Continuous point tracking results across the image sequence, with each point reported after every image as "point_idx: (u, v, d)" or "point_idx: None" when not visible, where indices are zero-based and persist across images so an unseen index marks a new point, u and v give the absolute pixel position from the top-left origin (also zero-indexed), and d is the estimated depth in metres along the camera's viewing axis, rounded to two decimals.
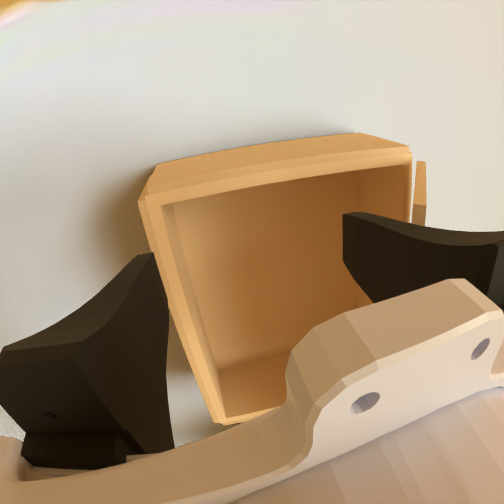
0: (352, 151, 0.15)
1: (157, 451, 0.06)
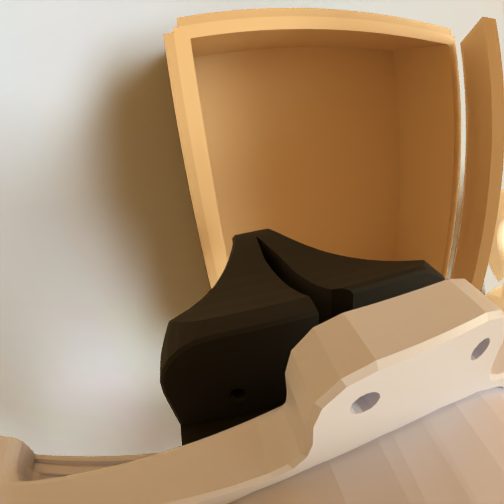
0: (398, 17, 0.11)
1: None
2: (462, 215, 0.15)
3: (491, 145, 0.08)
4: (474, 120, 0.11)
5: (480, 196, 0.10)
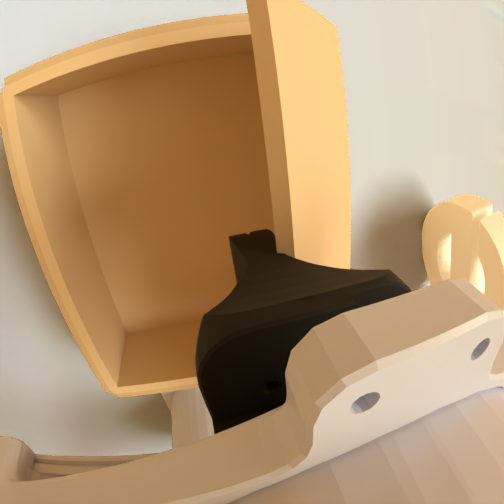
0: (227, 15, 0.10)
1: None
2: None
3: (269, 163, 0.08)
4: None
5: None
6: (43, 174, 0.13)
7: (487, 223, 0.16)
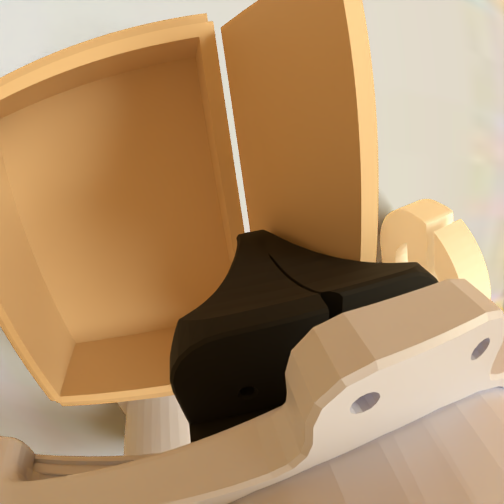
0: (114, 33, 0.09)
1: None
2: None
3: (359, 170, 0.06)
4: (270, 131, 0.09)
5: (325, 247, 0.08)
6: None
7: (443, 234, 0.15)
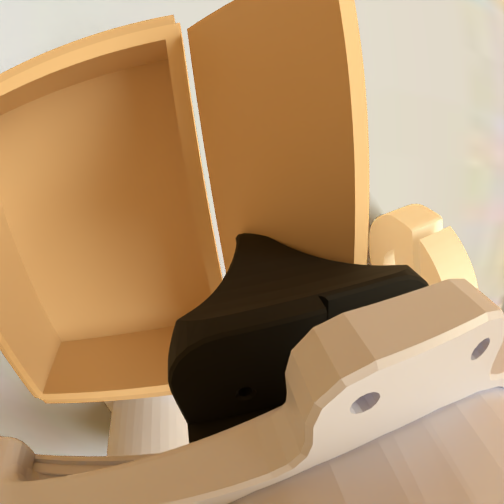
0: (82, 39, 0.09)
1: None
2: None
3: (352, 168, 0.06)
4: (245, 133, 0.09)
5: (312, 248, 0.08)
6: None
7: (430, 242, 0.15)
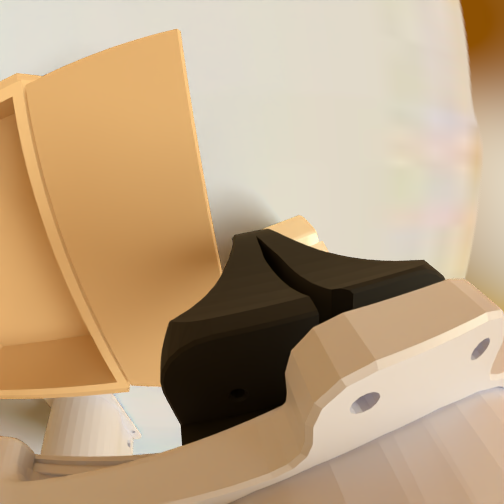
0: None
1: None
2: (91, 281, 0.14)
3: (194, 149, 0.11)
4: (97, 156, 0.11)
5: (171, 213, 0.12)
6: None
7: None
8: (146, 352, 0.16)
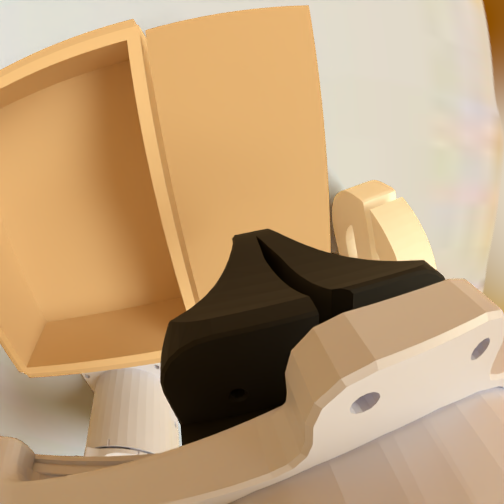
0: (59, 43, 0.10)
1: None
2: (195, 228, 0.15)
3: (320, 104, 0.12)
4: (226, 102, 0.12)
5: (294, 159, 0.14)
6: None
7: (380, 212, 0.16)
8: None
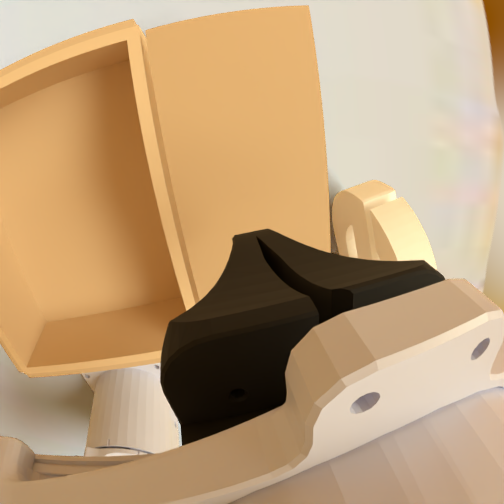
0: (59, 43, 0.10)
1: None
2: (195, 228, 0.15)
3: (320, 104, 0.12)
4: (226, 102, 0.13)
5: (294, 159, 0.14)
6: None
7: (380, 212, 0.16)
8: None
